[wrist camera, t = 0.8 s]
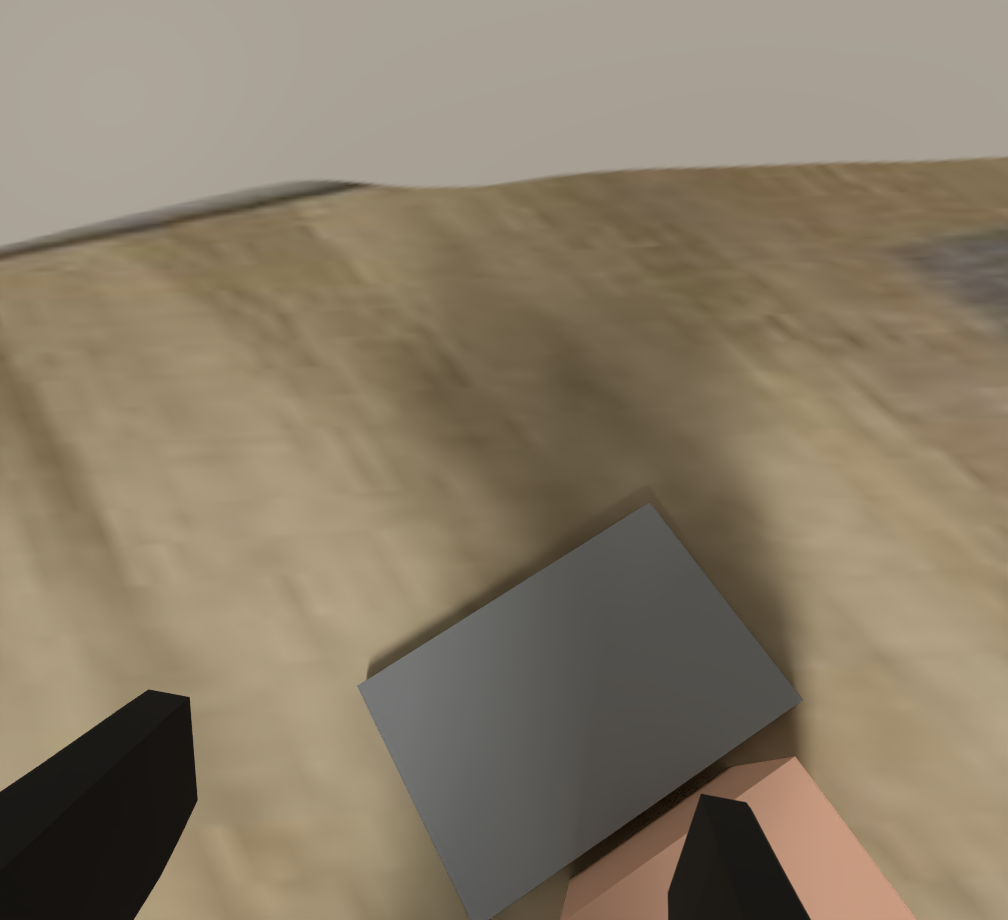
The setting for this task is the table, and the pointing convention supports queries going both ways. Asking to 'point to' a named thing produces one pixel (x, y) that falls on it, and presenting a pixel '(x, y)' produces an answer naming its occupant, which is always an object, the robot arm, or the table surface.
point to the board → (571, 708)
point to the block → (786, 824)
